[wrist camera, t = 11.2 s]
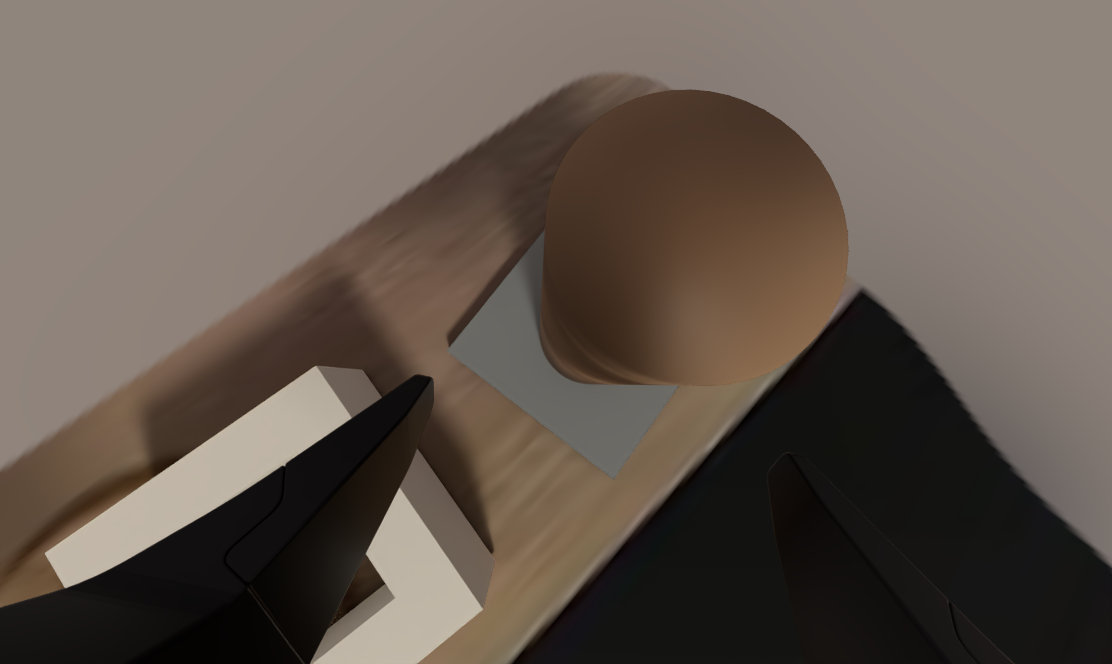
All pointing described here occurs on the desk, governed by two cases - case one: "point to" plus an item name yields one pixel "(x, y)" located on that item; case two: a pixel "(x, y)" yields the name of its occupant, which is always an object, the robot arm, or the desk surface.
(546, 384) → the pad
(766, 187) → the peg
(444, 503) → the frame
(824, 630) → the robot arm
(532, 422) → the desk surface
